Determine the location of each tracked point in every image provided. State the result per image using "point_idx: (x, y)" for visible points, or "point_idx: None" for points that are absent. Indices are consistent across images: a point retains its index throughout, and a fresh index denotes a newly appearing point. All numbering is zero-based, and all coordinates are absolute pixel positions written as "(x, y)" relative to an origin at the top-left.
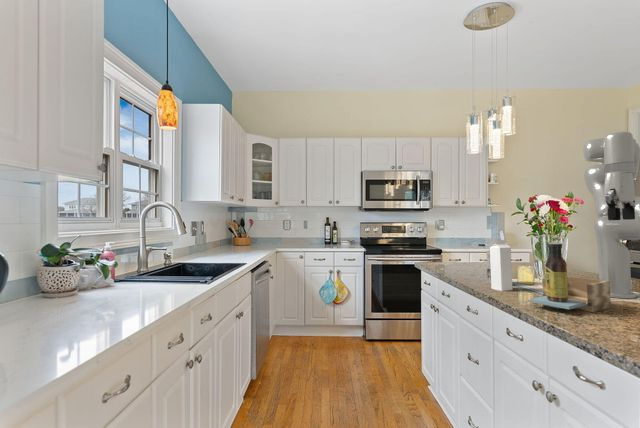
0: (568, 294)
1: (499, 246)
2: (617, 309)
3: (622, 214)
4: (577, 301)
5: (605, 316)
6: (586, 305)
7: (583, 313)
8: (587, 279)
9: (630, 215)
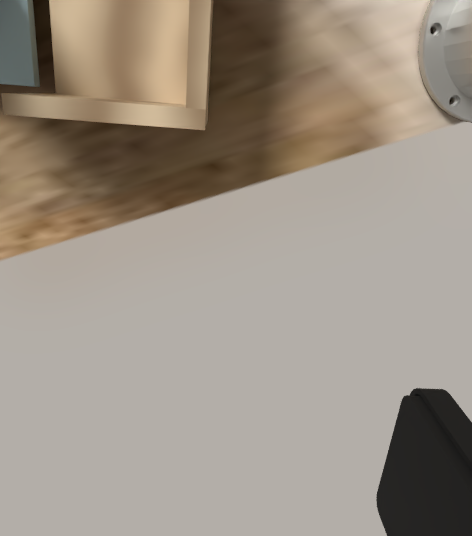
0: None
1: None
2: (188, 151)
3: (460, 453)
4: (16, 54)
5: (35, 165)
6: (56, 82)
7: None
8: (189, 14)
9: (406, 531)
